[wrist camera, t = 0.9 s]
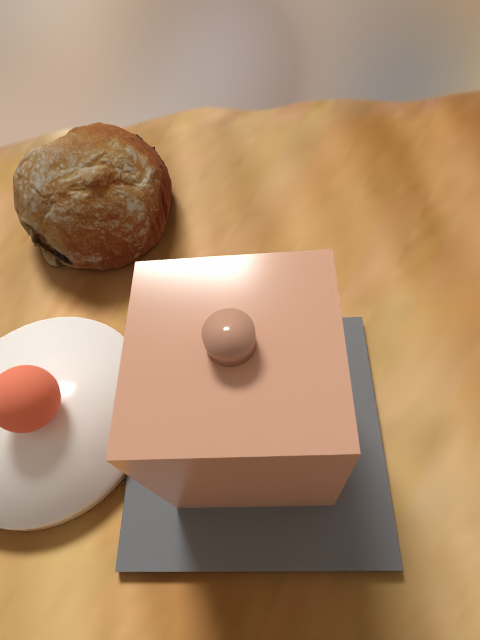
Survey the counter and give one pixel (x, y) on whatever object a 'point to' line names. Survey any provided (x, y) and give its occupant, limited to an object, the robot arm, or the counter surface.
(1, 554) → the counter surface
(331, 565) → the mat
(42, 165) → the bread roll
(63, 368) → the plate
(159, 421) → the pink knobbed box
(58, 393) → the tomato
